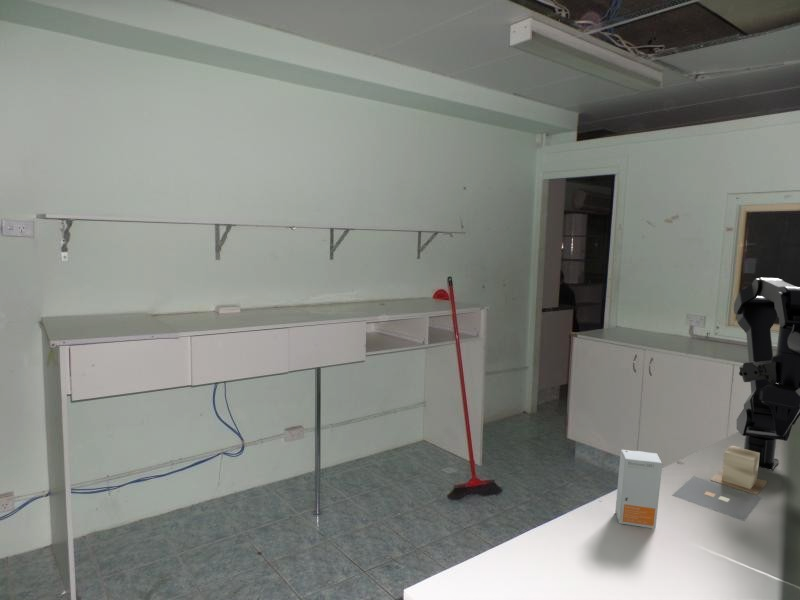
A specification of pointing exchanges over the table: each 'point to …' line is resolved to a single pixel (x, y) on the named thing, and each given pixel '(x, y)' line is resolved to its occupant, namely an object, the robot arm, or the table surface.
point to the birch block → (740, 466)
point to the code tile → (718, 497)
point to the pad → (754, 490)
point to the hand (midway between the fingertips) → (785, 429)
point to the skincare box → (638, 488)
